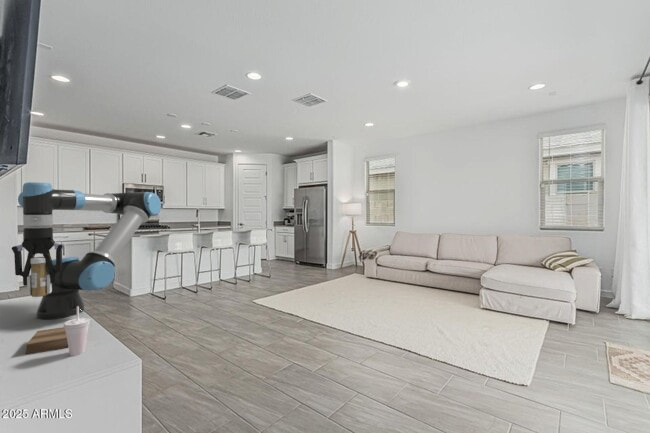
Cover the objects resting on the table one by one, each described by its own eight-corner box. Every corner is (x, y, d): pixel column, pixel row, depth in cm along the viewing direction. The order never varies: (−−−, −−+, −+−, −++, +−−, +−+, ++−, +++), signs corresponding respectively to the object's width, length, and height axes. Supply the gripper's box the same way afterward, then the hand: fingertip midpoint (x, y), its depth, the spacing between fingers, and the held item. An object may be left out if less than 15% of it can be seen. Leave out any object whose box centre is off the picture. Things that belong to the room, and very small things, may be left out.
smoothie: (93, 347, 99) (93, 303, 99) (86, 355, 93) (85, 309, 93) (69, 350, 97) (68, 305, 97) (59, 359, 91) (59, 311, 91)
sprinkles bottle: (49, 295, 110) (48, 257, 109) (31, 298, 106) (30, 258, 106) (47, 292, 113) (47, 255, 112) (30, 295, 109) (29, 257, 109)
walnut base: (37, 339, 104) (37, 331, 104) (82, 332, 110) (82, 324, 110) (26, 354, 94) (26, 344, 94) (76, 345, 100) (76, 336, 100)
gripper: (-1, 228, 101) (1, 300, 102) (68, 227, 110) (69, 292, 111) (7, 227, 108) (9, 294, 108) (72, 225, 116) (73, 288, 117)
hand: (39, 293), depth 109 cm, fingers closed on sprinkles bottle, 4 cm apart
